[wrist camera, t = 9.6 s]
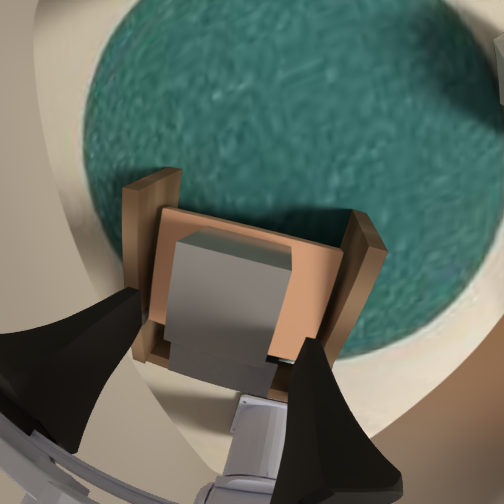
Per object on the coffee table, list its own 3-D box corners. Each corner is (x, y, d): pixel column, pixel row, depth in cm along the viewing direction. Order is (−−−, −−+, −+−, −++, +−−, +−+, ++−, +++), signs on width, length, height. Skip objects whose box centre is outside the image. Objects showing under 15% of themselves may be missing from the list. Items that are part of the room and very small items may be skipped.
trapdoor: (288, 384, 20) (287, 407, 17) (159, 348, 20) (146, 366, 18) (336, 243, 17) (343, 252, 15) (179, 204, 18) (162, 208, 15)
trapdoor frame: (306, 363, 24) (302, 416, 19) (160, 323, 25) (132, 367, 20) (368, 213, 17) (390, 253, 12) (167, 166, 18) (119, 187, 13)
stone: (270, 322, 16) (262, 368, 12) (194, 302, 16) (163, 339, 12) (291, 246, 15) (292, 270, 11) (208, 225, 15) (176, 241, 11)
